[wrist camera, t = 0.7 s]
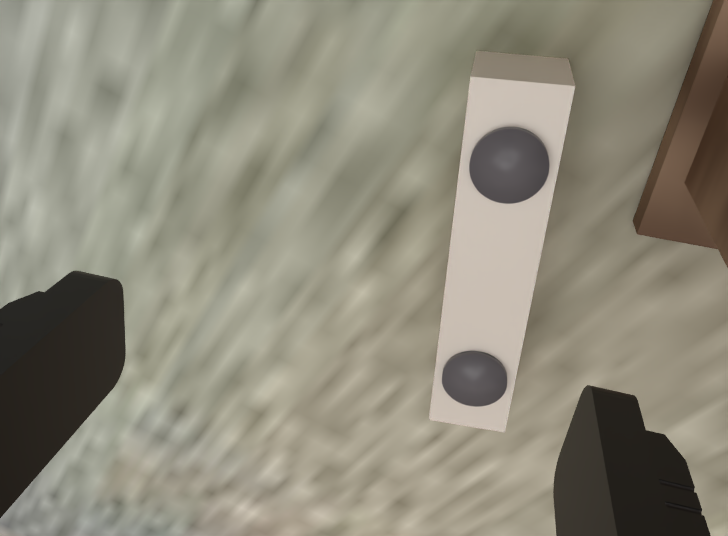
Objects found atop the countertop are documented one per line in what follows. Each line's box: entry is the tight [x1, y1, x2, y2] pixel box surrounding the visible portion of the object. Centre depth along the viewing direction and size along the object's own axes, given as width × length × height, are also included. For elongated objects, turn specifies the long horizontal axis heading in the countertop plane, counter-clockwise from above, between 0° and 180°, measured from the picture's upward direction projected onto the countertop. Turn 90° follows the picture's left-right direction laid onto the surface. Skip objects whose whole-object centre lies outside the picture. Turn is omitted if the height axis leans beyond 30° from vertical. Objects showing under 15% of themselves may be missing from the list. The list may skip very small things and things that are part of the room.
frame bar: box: [429, 51, 575, 432], centre depth 29 cm, size 16×4×4 cm, turn 178°
